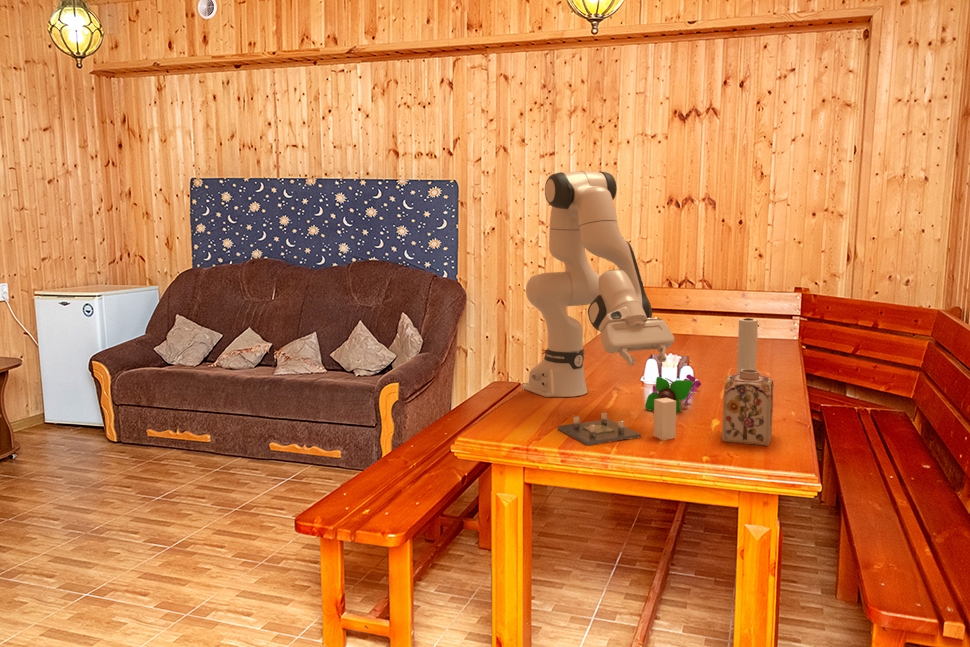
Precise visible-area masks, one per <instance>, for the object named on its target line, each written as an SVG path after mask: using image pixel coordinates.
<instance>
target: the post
mask: <svg viewBox="0 0 970 647" xmlns="http://www.w3.org/2000/svg"><path fill="white" fill-rule="evenodd" d="M676 420H677V412H676V401H675V400H672V399H669V398H661V399H654V411H653V437H654V436H655V438H656V437H657V439H658V438H659V440H661V441H668V440H672V439H673V438H675V439H676V433H677V432H676V431H677V430H676V429H677V428H676V426H677V425H676V424H677V423H676V422H677V421H676ZM667 439H668V440H667Z"/></svg>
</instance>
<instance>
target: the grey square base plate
mask: <svg viewBox="0 0 970 647" xmlns="http://www.w3.org/2000/svg"><path fill="white" fill-rule="evenodd" d="M600 414H601V415H600V416H601V417H600V419H598V420H593V421H591V420H590V421H585V422H580V421H581V420H580V415H575V416H573V423H569V424H561V425H557V430H559V431H560V432H562V433H564V434H565V435H567V436H569V437H570V438H573V439H574V438H575V440H576V441H578V442H580V443H582V444H583V445H585V446H593V445H594V444H595V445H600V444H599V443H602V444H605V443H604V442H609V441H615V442H617V441H616V440H622V441H624V440H623V439H629V440H631V439H630V438H636V439H639V438H638V437H641V436H642V434H641V433H639V431H638V432H637V431H635V430H633V429H631V428H629V427H626V426H625V420H621V419H620V420H619V419H618V421H617V422H615V421H614V420H612V419H609V418H608V412H601V413H600ZM641 438H642V437H641ZM609 443H610V442H609ZM595 445H594V446H595Z"/></svg>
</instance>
